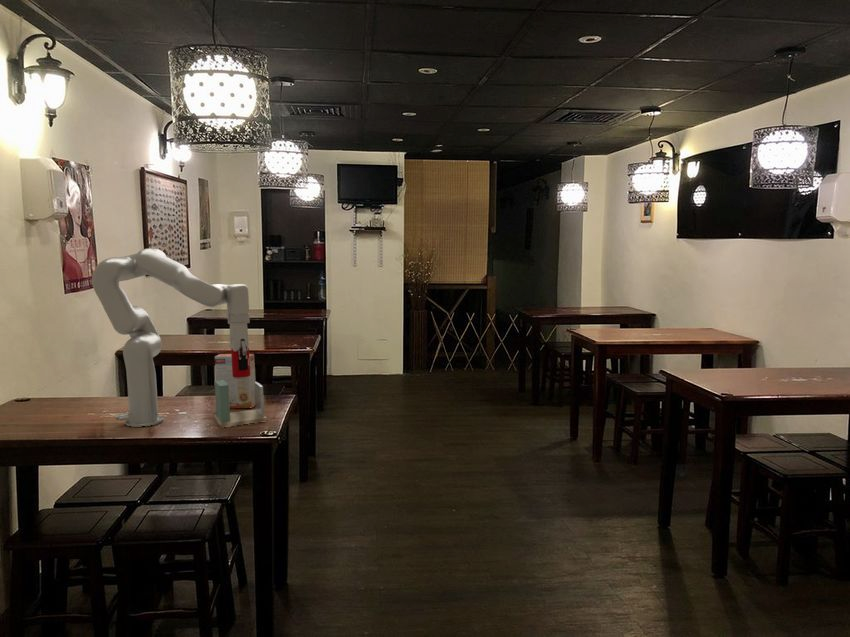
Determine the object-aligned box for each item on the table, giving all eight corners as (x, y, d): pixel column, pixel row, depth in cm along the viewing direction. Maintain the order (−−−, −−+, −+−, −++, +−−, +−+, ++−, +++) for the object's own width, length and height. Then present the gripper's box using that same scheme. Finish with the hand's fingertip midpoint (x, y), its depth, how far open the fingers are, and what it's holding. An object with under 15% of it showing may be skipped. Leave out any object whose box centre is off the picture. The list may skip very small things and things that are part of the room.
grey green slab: (221, 422, 228) (219, 386, 227) (216, 415, 237) (214, 380, 236) (230, 421, 230) (228, 385, 228) (224, 414, 239) (223, 379, 237)
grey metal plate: (261, 416, 235) (260, 386, 234) (255, 411, 243) (254, 382, 242) (264, 416, 236) (262, 386, 234) (258, 410, 244) (257, 381, 242)
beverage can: (252, 375, 238) (251, 343, 237) (247, 379, 232) (246, 346, 230) (235, 376, 238) (234, 343, 237) (230, 379, 232) (228, 346, 231)
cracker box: (257, 405, 258) (255, 353, 255) (251, 409, 252) (249, 356, 249) (223, 404, 259) (220, 353, 257) (216, 408, 253) (214, 355, 251)
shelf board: (221, 428, 227) (221, 424, 226) (214, 418, 239) (213, 414, 239) (267, 421, 234) (267, 417, 234) (257, 412, 246) (257, 409, 246)
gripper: (223, 317, 238) (225, 365, 240) (232, 322, 223) (235, 373, 225) (244, 315, 242) (246, 363, 244) (254, 320, 227) (257, 371, 229)
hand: (241, 368), depth 235 cm, fingers closed on beverage can, 6 cm apart
